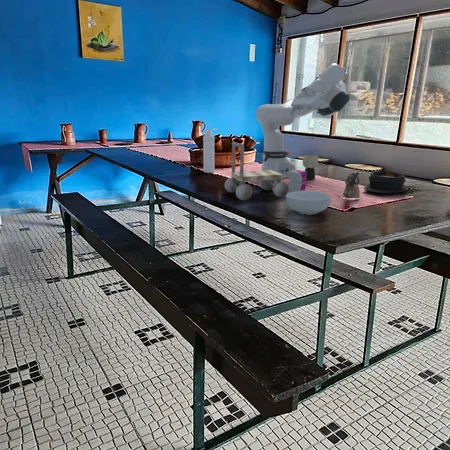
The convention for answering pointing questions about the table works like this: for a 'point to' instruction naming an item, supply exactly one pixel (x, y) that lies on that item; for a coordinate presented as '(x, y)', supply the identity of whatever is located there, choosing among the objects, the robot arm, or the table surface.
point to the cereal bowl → (308, 201)
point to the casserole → (386, 182)
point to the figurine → (352, 186)
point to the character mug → (310, 165)
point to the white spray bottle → (208, 151)
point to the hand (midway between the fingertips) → (294, 114)
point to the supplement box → (297, 180)
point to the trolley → (253, 178)
